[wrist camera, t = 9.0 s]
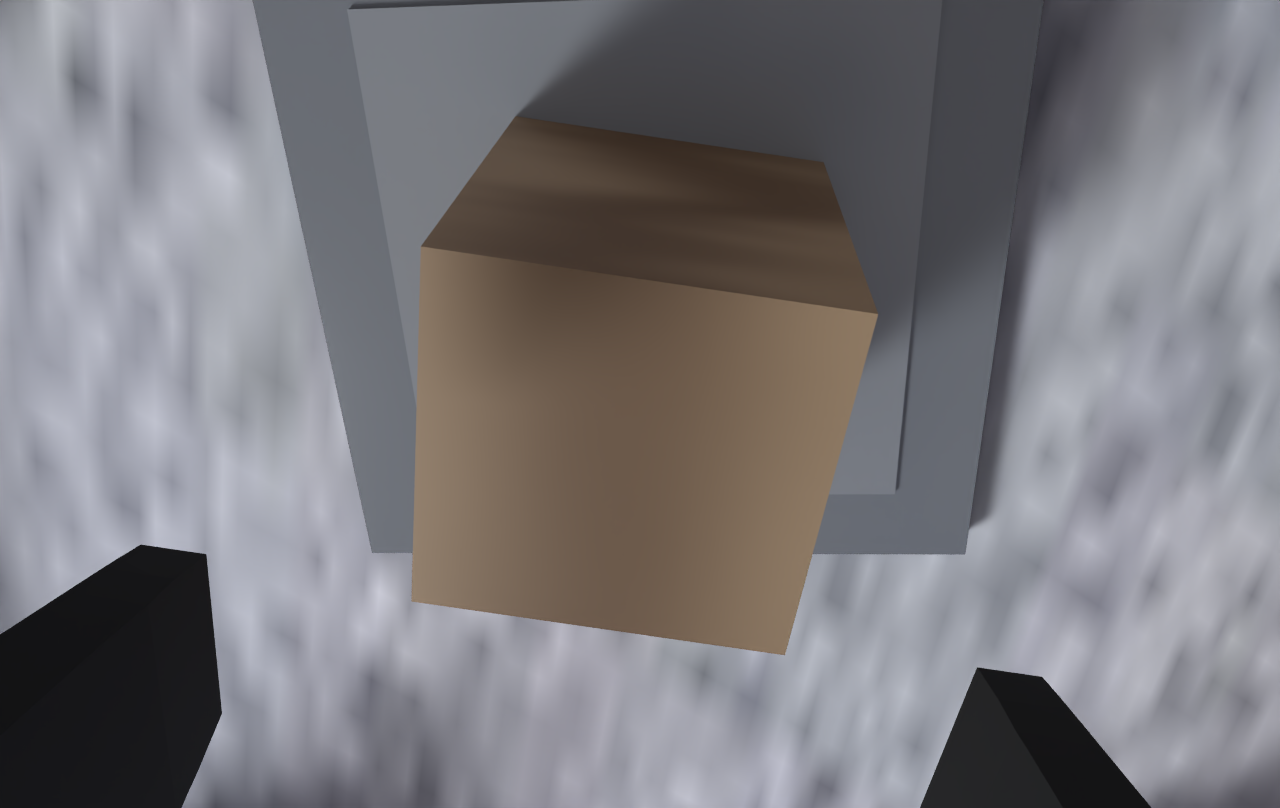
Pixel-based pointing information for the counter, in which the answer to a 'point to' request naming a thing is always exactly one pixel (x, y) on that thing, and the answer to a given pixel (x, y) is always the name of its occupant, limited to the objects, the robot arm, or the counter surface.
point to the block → (633, 384)
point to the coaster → (692, 112)
